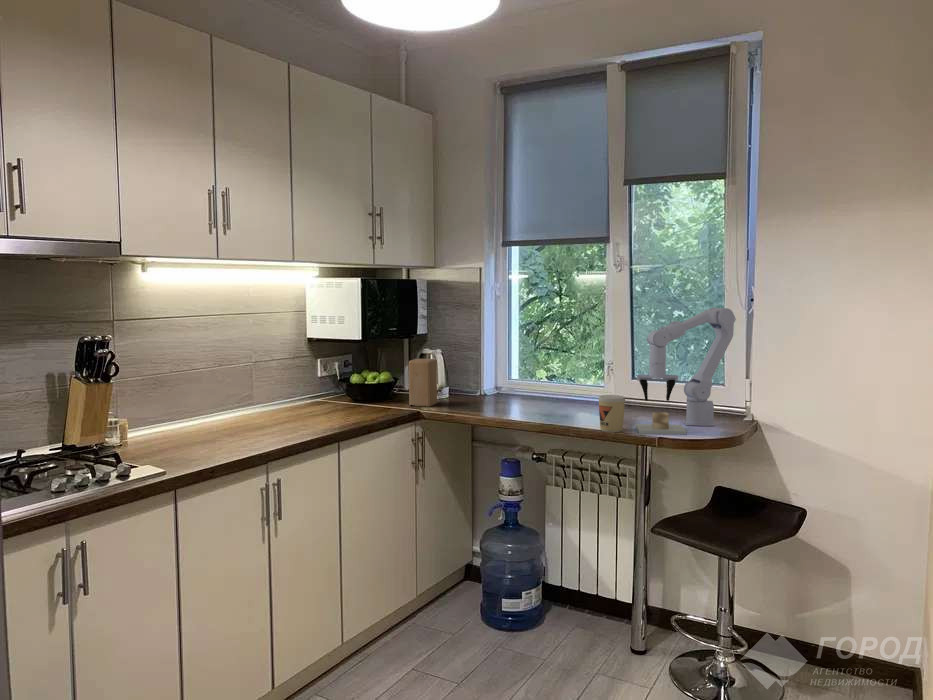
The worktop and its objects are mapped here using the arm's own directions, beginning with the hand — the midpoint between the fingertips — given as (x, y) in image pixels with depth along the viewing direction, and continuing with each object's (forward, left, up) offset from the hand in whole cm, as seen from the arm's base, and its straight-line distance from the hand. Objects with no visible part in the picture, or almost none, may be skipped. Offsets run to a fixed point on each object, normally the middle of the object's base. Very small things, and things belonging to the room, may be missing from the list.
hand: (656, 400), depth 263 cm
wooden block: (+94, -39, -10) cm, 102 cm away
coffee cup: (+17, +10, -10) cm, 22 cm away
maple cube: (0, +10, -8) cm, 13 cm away
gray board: (0, +10, -9) cm, 14 cm away
